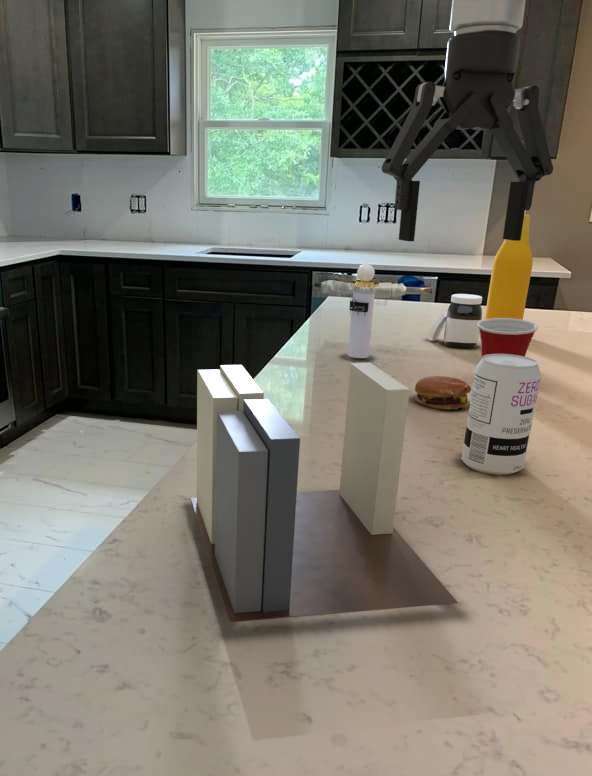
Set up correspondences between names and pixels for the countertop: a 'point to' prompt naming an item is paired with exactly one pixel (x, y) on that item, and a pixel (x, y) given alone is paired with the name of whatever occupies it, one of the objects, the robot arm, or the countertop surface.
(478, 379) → the supplement can
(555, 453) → the countertop surface
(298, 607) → the shelf board
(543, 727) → the countertop surface
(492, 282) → the beer bottle
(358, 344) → the perfume bottle
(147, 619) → the countertop surface
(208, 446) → the cream books
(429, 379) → the burger
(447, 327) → the spread jar
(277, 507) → the grey books
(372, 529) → the cream book
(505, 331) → the plastic cup
